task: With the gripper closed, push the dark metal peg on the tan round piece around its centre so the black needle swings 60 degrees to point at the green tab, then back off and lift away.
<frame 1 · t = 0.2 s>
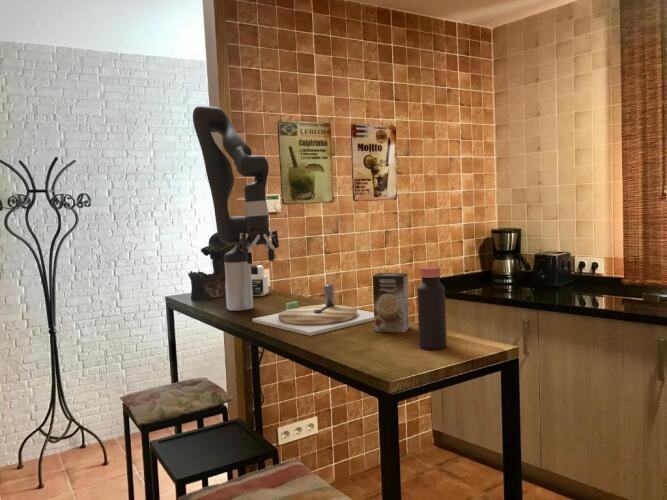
hand: (260, 262, 200), 17 cm above the table, tool pointing down, fingers open, 8 cm apart
coffee box: (391, 330, 167), on the table
medicine bottle: (257, 295, 241), on the table
dark grey water bottle: (432, 347, 147), on the table
gauge plate: (318, 319, 186), on the table
tan round piece: (317, 303, 185), point 5 cm above the table, hinge at 0.0°
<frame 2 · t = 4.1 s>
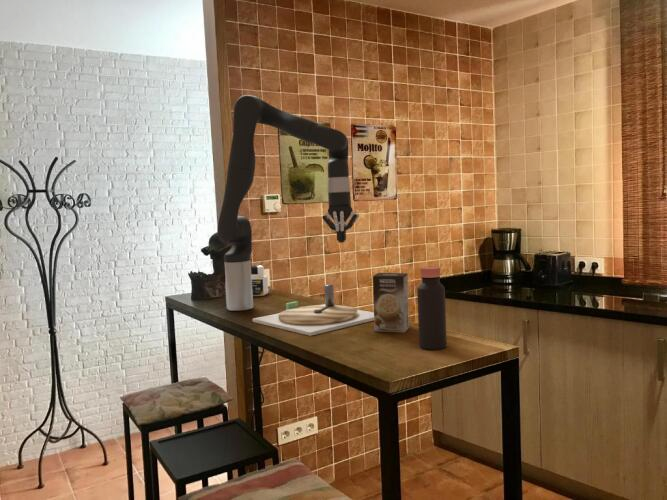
hand: (341, 242, 199), 23 cm above the table, tool pointing down, fingers closed
nothing on the table moved.
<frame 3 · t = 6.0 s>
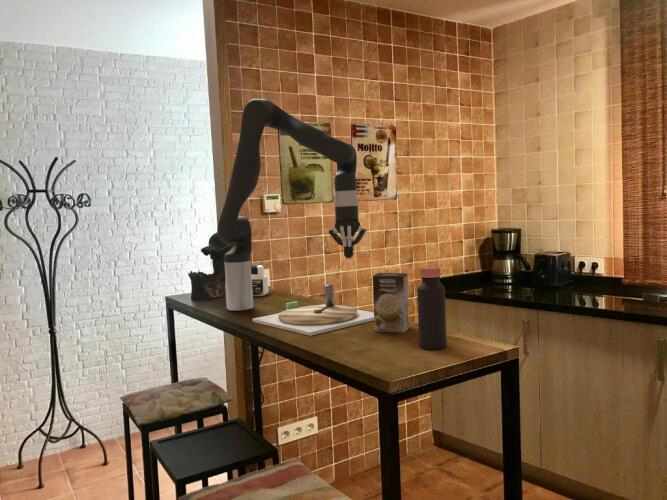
hand: (348, 257, 192), 18 cm above the table, tool pointing down, fingers closed
nothing on the table moved.
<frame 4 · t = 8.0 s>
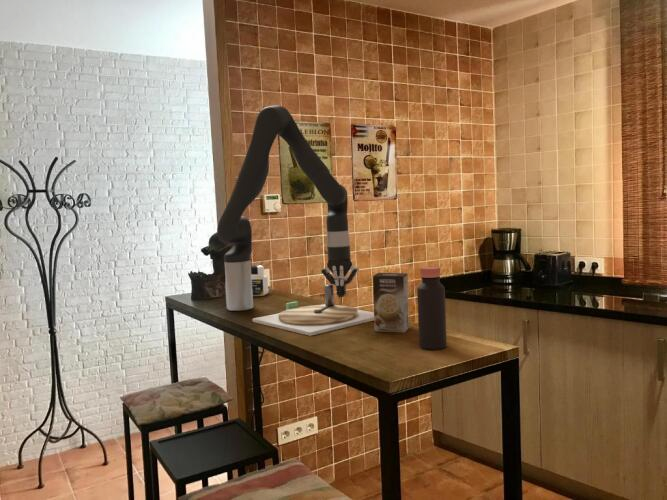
hand: (341, 296, 194), 5 cm above the table, tool pointing down, fingers closed
tan round piece: (317, 303, 185), point 5 cm above the table, hinge at 0.1°, touching gripper
everything else where it was.
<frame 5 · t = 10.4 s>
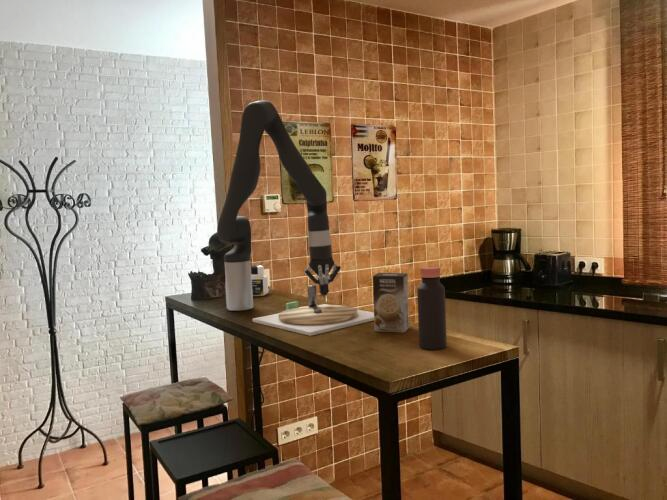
hand: (324, 295, 197), 6 cm above the table, tool pointing down, fingers closed
tan round piece: (317, 303, 185), point 5 cm above the table, hinge at 30.5°, touching gripper
everything else where it was.
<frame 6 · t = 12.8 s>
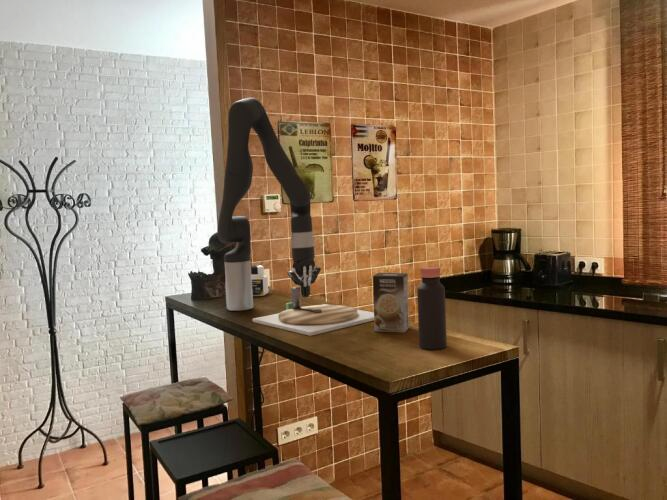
hand: (305, 297, 196), 6 cm above the table, tool pointing down, fingers closed
tan round piece: (317, 303, 185), point 5 cm above the table, hinge at 61.2°, touching gripper
everything else where it was.
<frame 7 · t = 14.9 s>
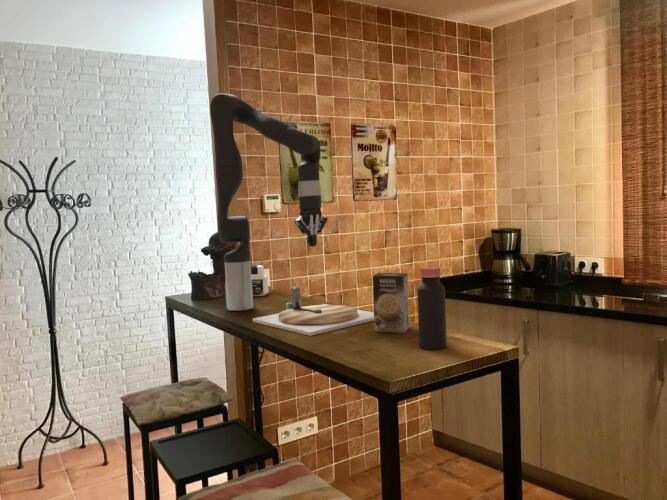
hand: (312, 246, 198), 22 cm above the table, tool pointing down, fingers closed
tan round piece: (317, 303, 185), point 5 cm above the table, hinge at 61.4°
everything else where it was.
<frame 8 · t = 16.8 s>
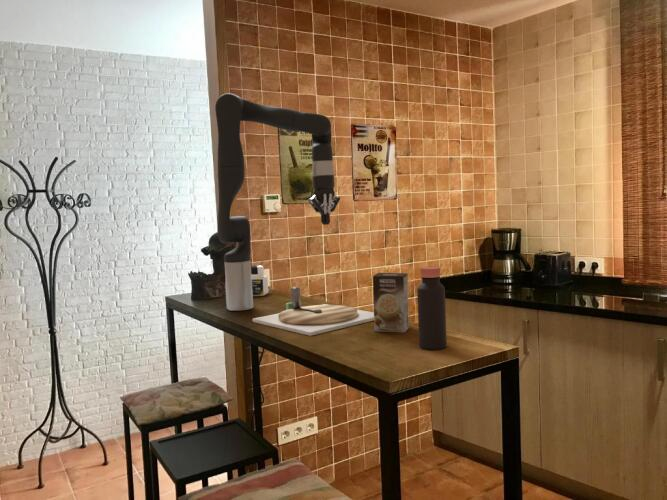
hand: (325, 224, 204), 29 cm above the table, tool pointing down, fingers closed
nothing on the table moved.
at the end: tan round piece at +61° (first picture: +0°) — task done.
